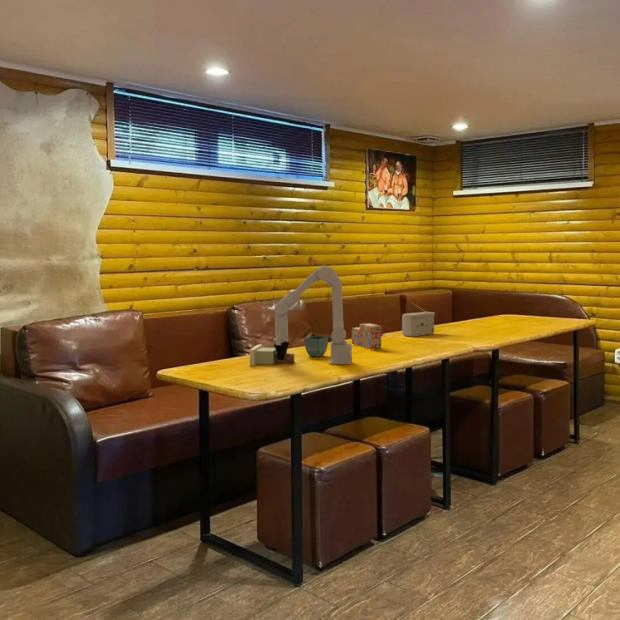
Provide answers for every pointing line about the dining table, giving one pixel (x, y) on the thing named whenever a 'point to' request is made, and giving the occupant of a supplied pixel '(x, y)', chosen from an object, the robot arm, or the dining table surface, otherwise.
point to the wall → (254, 354)
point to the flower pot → (316, 345)
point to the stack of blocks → (367, 336)
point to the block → (265, 355)
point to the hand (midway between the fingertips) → (282, 358)
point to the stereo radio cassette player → (418, 323)
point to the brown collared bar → (287, 358)
